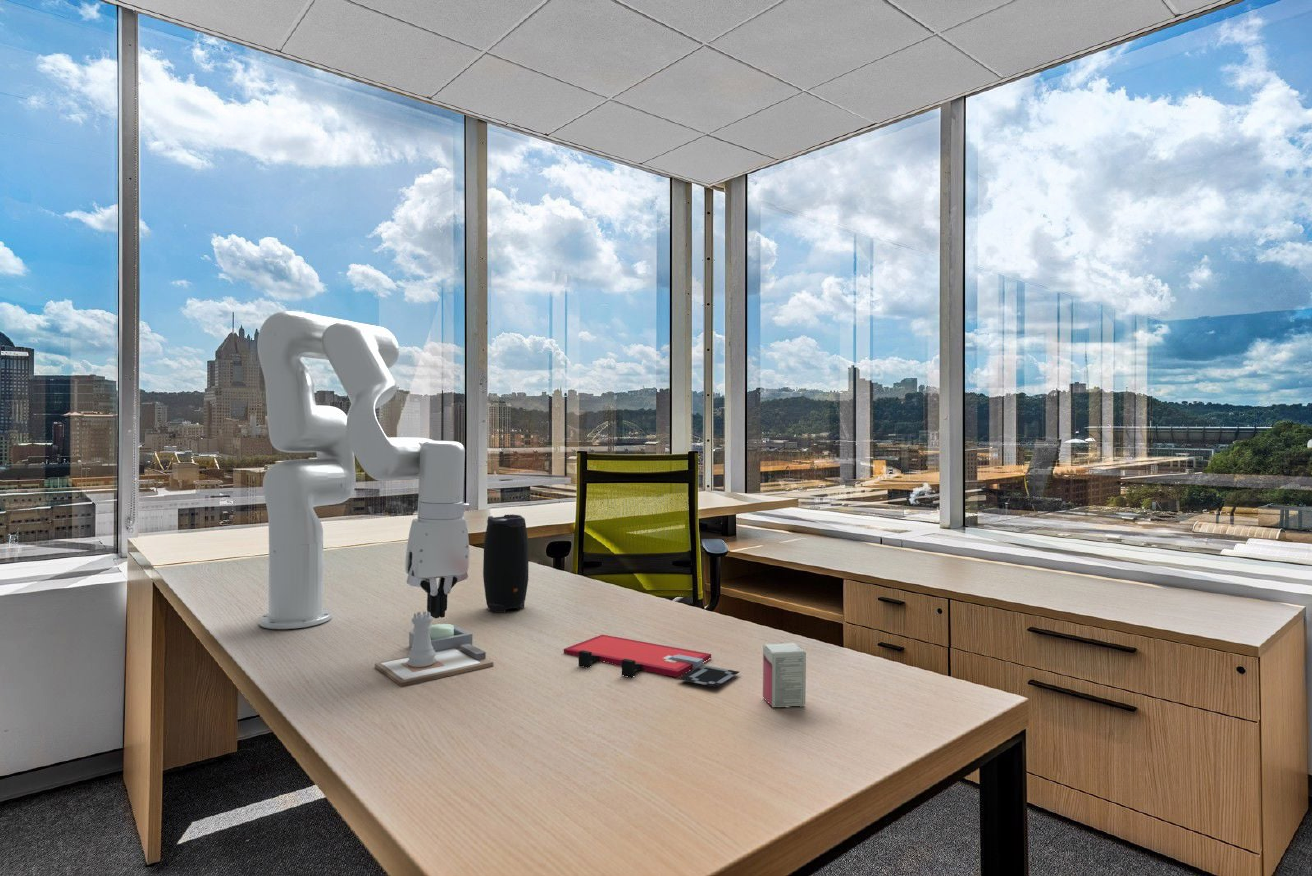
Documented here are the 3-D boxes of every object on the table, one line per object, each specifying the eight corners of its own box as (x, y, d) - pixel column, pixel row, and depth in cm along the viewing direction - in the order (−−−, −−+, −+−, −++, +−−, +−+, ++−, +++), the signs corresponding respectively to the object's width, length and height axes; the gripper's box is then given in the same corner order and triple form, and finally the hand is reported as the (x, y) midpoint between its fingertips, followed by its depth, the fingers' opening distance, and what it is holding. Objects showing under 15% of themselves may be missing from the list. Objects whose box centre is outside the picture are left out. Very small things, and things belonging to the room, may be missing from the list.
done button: (423, 643, 126) (423, 626, 125) (447, 639, 128) (447, 622, 128) (433, 649, 122) (433, 632, 122) (458, 645, 125) (458, 627, 125)
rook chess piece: (427, 669, 111) (427, 618, 111) (401, 667, 112) (401, 616, 112) (441, 660, 116) (442, 611, 116) (416, 658, 117) (416, 609, 117)
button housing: (409, 646, 126) (409, 631, 126) (452, 637, 131) (452, 624, 131) (427, 657, 120) (427, 642, 120) (472, 648, 125) (472, 634, 125)
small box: (794, 696, 104) (795, 641, 104) (806, 707, 100) (806, 651, 100) (761, 697, 104) (762, 643, 103) (771, 709, 99) (772, 652, 99)
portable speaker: (529, 612, 150) (530, 518, 149) (483, 614, 147) (484, 519, 147) (526, 602, 158) (526, 513, 158) (482, 604, 156) (483, 514, 155)
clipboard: (374, 667, 115) (375, 657, 114) (462, 649, 124) (462, 640, 124) (401, 686, 106) (401, 675, 106) (493, 665, 116) (493, 655, 116)
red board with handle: (710, 697, 104) (752, 670, 117) (710, 677, 104) (752, 652, 117) (549, 662, 120) (602, 642, 132) (549, 645, 120) (602, 626, 132)
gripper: (470, 506, 133) (466, 605, 133) (389, 511, 123) (385, 617, 124) (489, 512, 127) (485, 615, 128) (406, 516, 117) (402, 628, 118)
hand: (436, 615), depth 126 cm, fingers closed
